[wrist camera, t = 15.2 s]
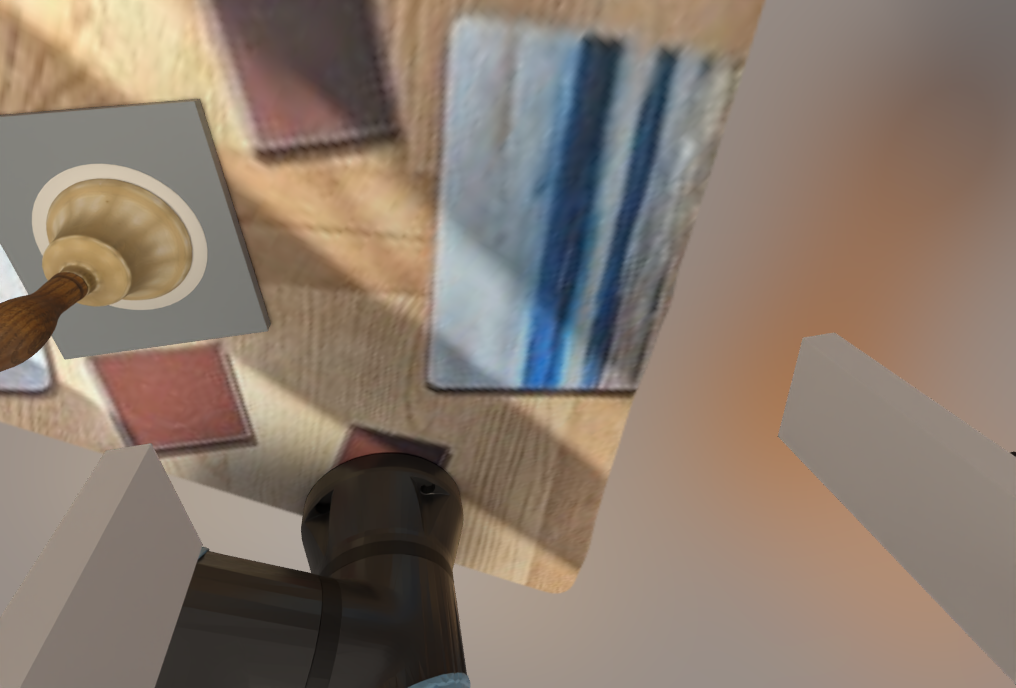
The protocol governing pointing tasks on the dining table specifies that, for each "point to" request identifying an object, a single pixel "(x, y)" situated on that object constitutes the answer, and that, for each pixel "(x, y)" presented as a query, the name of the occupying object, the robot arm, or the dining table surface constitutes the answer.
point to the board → (160, 170)
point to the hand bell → (97, 260)
